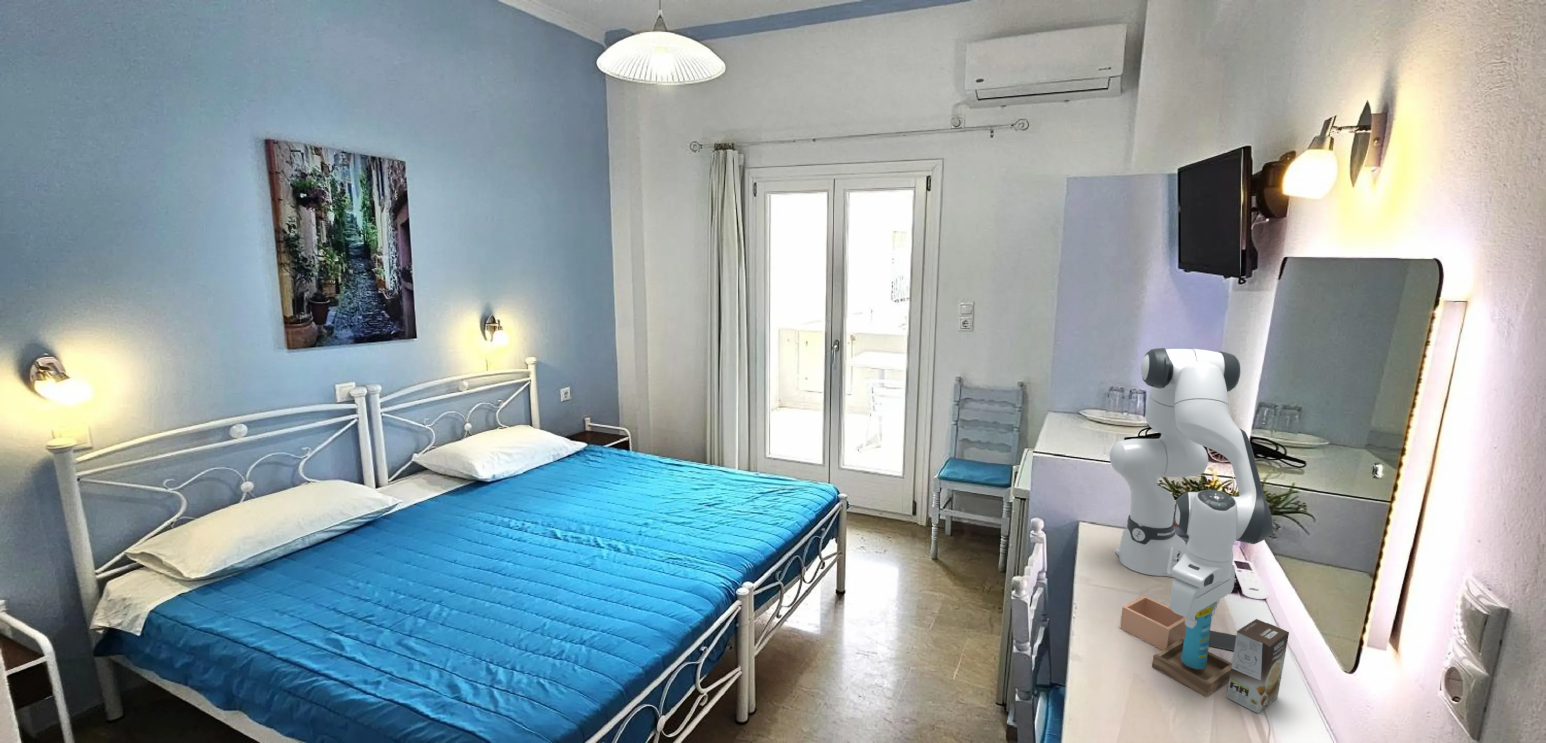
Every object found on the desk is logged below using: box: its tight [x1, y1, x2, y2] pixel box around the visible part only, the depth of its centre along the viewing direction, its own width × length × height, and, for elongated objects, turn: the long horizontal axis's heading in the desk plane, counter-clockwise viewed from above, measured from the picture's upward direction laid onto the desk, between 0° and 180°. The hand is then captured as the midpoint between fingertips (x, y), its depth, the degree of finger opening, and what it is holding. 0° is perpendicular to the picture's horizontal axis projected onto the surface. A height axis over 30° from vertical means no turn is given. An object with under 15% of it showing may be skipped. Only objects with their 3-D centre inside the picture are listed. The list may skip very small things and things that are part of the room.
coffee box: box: [1226, 618, 1290, 714], centre depth 144 cm, size 9×6×16 cm
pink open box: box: [1119, 595, 1186, 651], centre depth 168 cm, size 10×12×6 cm
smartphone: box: [1208, 629, 1237, 653], centre depth 164 cm, size 7×1×15 cm
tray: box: [1151, 638, 1232, 698], centre depth 154 cm, size 12×12×3 cm
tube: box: [1181, 604, 1213, 669], centre depth 151 cm, size 7×5×19 cm, turn 123°
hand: (1199, 620), depth 151 cm, fingers closed on tube, 6 cm apart
